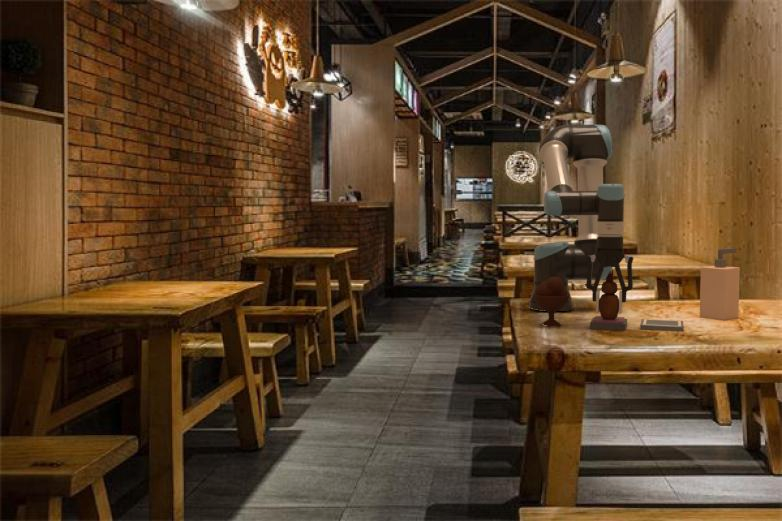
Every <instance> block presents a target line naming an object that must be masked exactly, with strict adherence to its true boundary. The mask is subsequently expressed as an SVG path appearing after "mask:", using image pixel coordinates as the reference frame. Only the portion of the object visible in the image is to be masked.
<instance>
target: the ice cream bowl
mask: <svg viewBox="0 0 782 521" xmlns="http://www.w3.org/2000/svg"><path fill="white" fill-rule="evenodd" d="M570 295H571V293H570V294H568V292H567V290H566V289H565V288H564V283H563V281H562V280H561V279H560V278H558V277H550V278H549V279H548V280H547V281H544V282H542V283H540V284H539V285H538V286H537V288H536V292H535V294H533V296H534V300H535V302H536V304H537V305H538V306H539V307H540V308H542V309H543V310H545V311H547V312H546V313H547V314H548V319H547V320H545V321H543V322H542V324H544V325H547V326H546V327H560V326H561V322H559V321H558V320H556V319H555V314H556V313H557V312H556V311H558V310H560V309H562V308H563V307H564V306H565V305H566V304H567V302H568V300H569V296H570ZM544 325H543V326H544Z"/></svg>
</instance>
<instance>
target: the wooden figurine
mask: <svg viewBox="0 0 782 521" xmlns="http://www.w3.org/2000/svg"><path fill="white" fill-rule="evenodd" d="M600 291H601V293H602V294H601V295H600V300H599V313H600V316H601V317H602V318H604V319H615V318H616V317H619V316H618V315H619V295H617V294H616V293H617V292H618V284H617V282H615V281H614V270H613V269H612V271H610V272H609V274H608V276H607V277H606V279H605V281H603V282H602V284H601V290H600Z"/></svg>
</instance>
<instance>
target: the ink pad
mask: <svg viewBox="0 0 782 521" xmlns="http://www.w3.org/2000/svg"><path fill="white" fill-rule="evenodd" d="M627 327H628V318H625V317H624V316H617V317H616V318H615V319H604V318H602V317H601V315H596V316H595V317H593V318H592V319H591V321H590V322H589V330H601V331H619V332H620V331H622V332H625V331H626V330H627Z"/></svg>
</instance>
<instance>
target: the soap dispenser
mask: <svg viewBox="0 0 782 521" xmlns="http://www.w3.org/2000/svg"><path fill="white" fill-rule="evenodd" d="M734 253H735V254H736V253H737V248H736V247H729V248H719V249H717V258H715V259H714V265H710V266H701V267H700V283H699V285H700V287H699V288H700V289H699V291H700V292H699V295H700V296H699V318H702V317H704V318H703V319H710V318H711V320H712V319H713V320H719V321H728V320H733V319H738V318H739V310H740V307H739V306H740V305H739V304H740V303H739V302H740V275H741V274H740V273H741V270H740V269H741V267H737V266H728V265H727V258H724V255H728V254H734Z"/></svg>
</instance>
